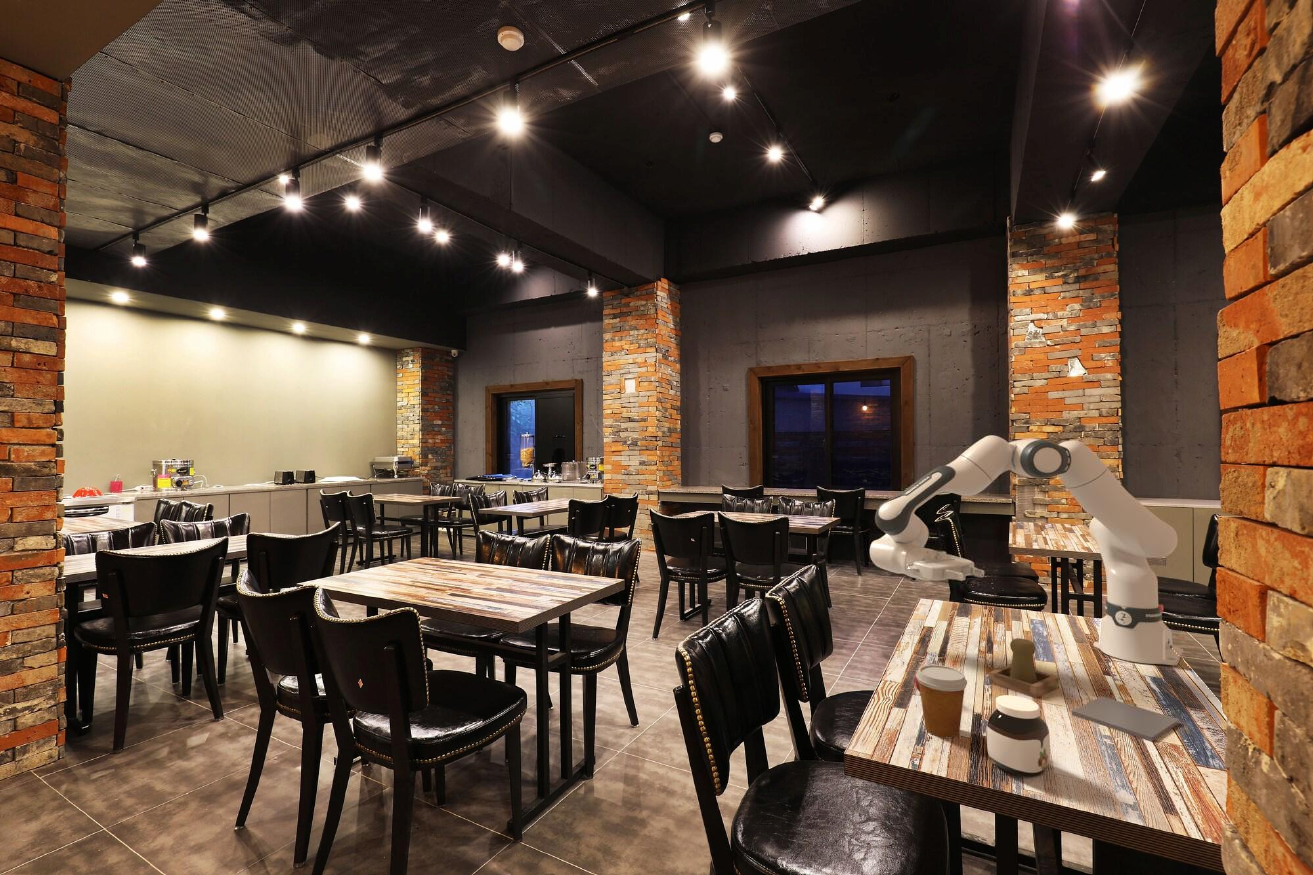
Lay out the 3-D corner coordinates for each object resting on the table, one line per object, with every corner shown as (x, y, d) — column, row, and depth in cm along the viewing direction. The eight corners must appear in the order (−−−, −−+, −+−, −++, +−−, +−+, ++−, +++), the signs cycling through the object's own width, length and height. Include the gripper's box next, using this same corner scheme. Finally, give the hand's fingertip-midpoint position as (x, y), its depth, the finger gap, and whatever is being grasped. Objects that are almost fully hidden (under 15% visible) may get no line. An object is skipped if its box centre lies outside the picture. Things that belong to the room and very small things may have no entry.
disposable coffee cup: (966, 746, 116) (964, 684, 116) (913, 734, 121) (912, 675, 121) (970, 727, 124) (969, 669, 124) (920, 716, 129) (919, 660, 129)
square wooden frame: (1012, 673, 153) (1012, 663, 153) (1058, 687, 143) (1058, 677, 143) (989, 682, 147) (988, 672, 147) (1035, 697, 138) (1035, 687, 138)
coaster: (1101, 699, 136) (1101, 695, 136) (1179, 723, 125) (1179, 719, 125) (1072, 714, 129) (1072, 710, 129) (1151, 741, 117) (1151, 737, 117)
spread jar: (1020, 784, 103) (1018, 716, 103) (963, 753, 113) (962, 692, 114) (1064, 768, 108) (1063, 704, 108) (1006, 740, 118) (1005, 681, 118)
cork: (1042, 690, 142) (1041, 644, 142) (1014, 689, 143) (1013, 643, 143) (1032, 681, 147) (1031, 636, 148) (1005, 679, 149) (1004, 635, 149)
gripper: (903, 555, 160) (953, 566, 149) (944, 550, 172) (993, 560, 161) (901, 578, 161) (951, 591, 149) (942, 572, 172) (992, 583, 161)
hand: (973, 575), depth 155 cm, fingers open, 8 cm apart
